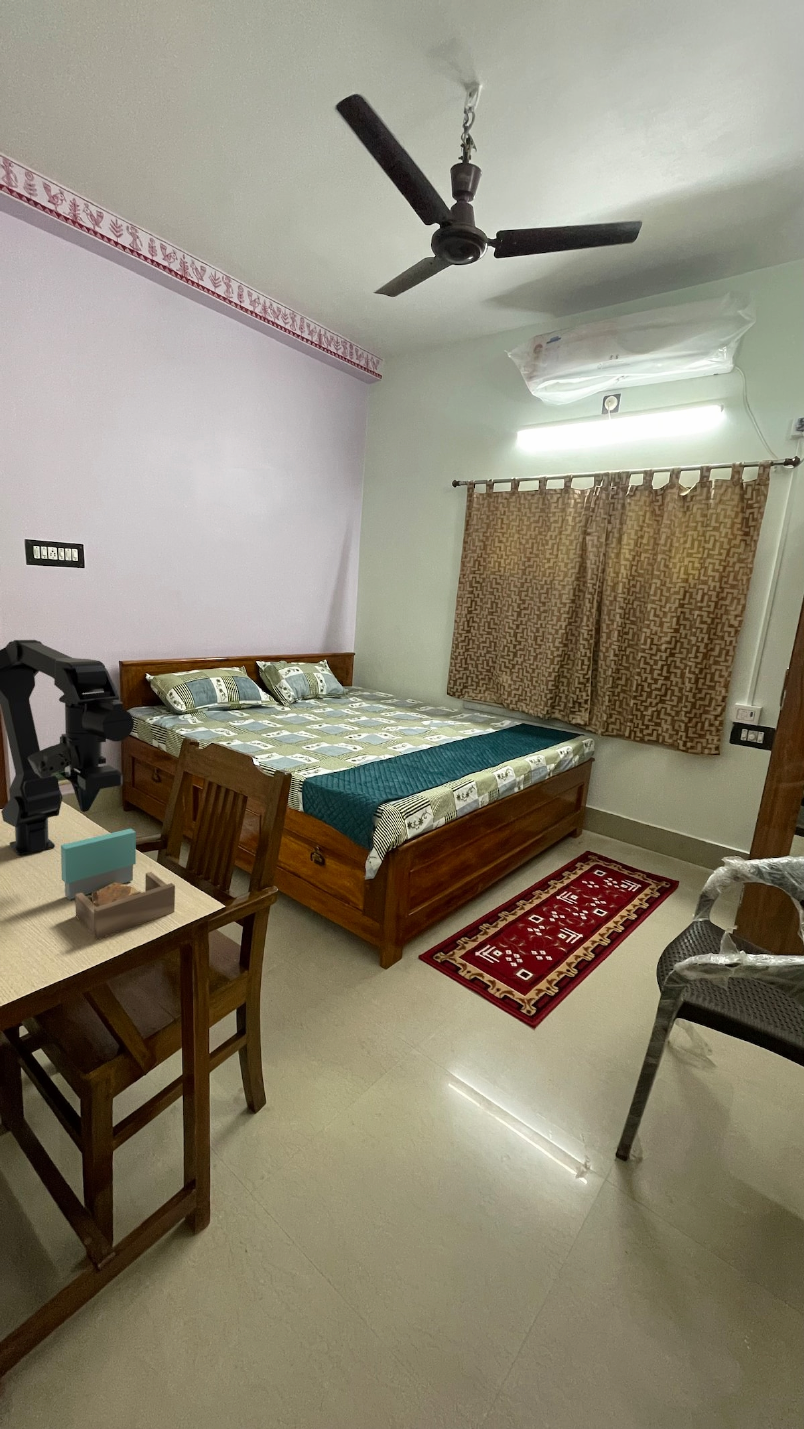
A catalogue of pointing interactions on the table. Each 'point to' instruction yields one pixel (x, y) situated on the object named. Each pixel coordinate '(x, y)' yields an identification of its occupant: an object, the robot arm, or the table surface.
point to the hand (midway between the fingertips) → (84, 811)
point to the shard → (112, 893)
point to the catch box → (127, 908)
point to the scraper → (98, 862)
